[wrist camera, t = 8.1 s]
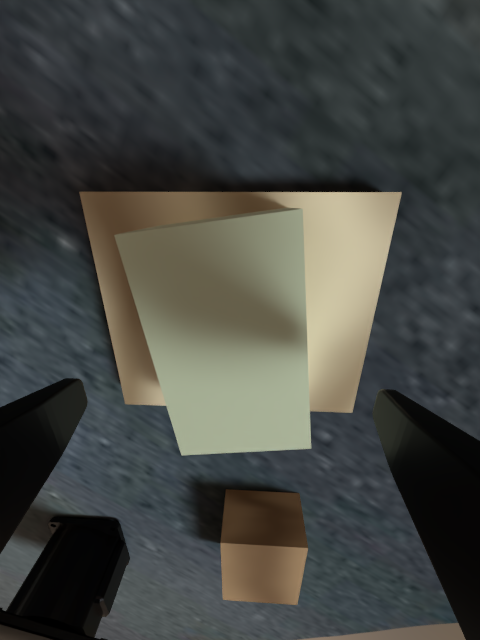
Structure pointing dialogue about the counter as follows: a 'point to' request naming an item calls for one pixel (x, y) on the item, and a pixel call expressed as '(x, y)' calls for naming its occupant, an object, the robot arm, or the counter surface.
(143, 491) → the counter surface
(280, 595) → the walnut block
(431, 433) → the robot arm
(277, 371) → the green block
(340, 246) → the birch board
